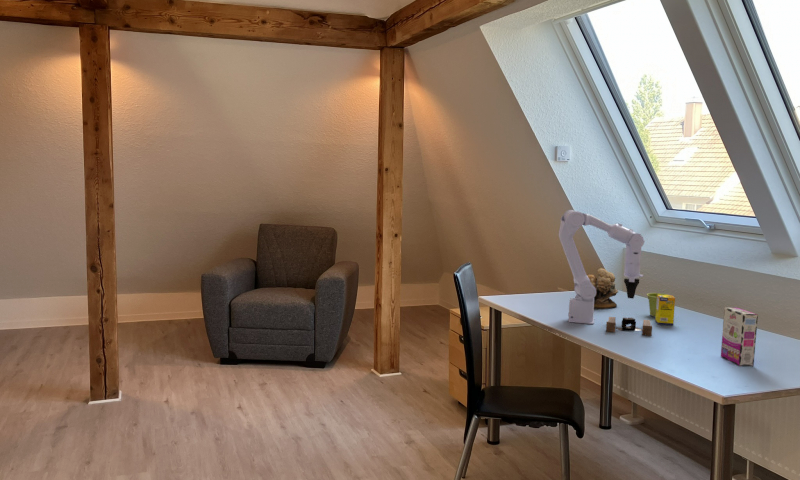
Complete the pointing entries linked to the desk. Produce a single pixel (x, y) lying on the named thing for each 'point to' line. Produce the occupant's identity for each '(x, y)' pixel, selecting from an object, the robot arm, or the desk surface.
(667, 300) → the supplement box
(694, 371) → the desk surface
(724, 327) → the candy bar box
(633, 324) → the black bracket
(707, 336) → the desk surface
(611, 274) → the tan lumpy statue
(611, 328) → the wooden rail pair
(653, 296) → the plant pot
